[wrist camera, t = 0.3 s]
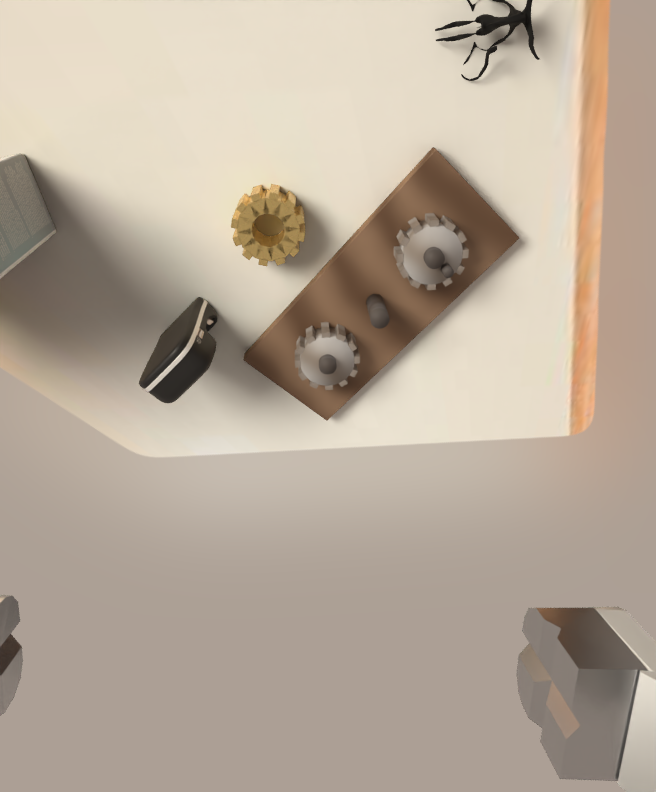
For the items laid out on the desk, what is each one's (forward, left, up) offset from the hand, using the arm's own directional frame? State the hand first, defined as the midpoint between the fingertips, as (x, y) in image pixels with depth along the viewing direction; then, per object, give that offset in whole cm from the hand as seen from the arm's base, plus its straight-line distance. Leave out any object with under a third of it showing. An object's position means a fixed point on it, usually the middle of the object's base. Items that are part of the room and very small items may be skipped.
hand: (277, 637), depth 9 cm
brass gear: (+7, +2, -51) cm, 51 cm away
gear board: (+6, +15, -51) cm, 53 cm away
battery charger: (+21, +3, -51) cm, 55 cm away
